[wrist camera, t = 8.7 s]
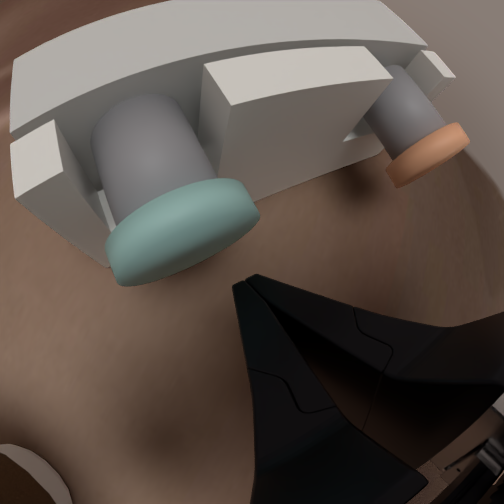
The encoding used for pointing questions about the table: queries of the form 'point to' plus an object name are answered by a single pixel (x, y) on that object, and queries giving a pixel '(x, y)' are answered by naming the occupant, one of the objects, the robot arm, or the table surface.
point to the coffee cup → (29, 478)
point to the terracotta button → (412, 129)
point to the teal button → (163, 192)
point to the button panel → (210, 95)
